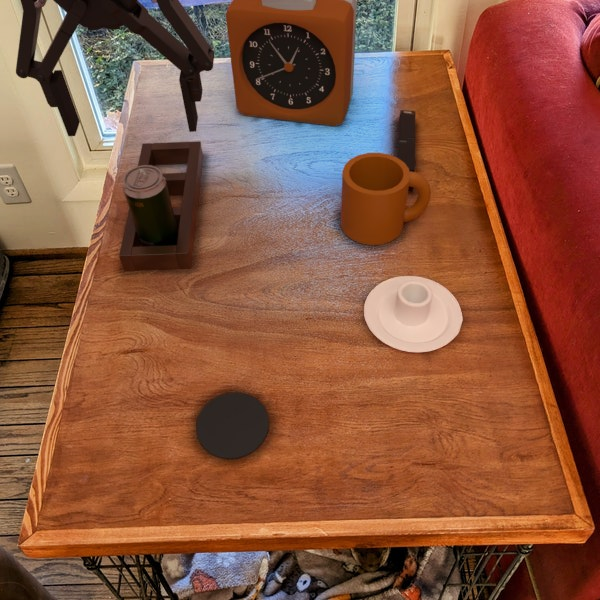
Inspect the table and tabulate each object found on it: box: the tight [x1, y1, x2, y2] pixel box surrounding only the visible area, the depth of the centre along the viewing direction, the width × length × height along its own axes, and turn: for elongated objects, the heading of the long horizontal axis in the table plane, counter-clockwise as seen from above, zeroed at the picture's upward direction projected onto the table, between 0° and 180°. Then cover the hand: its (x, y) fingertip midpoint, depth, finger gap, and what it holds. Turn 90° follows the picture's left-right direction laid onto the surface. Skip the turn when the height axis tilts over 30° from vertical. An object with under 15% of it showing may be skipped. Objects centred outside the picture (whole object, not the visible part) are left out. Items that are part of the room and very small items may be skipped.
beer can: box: [122, 165, 179, 247], centre depth 82 cm, size 5×5×12 cm
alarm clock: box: [225, 0, 358, 127], centre depth 99 cm, size 18×9×21 cm, turn 77°
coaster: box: [195, 392, 270, 460], centre depth 69 cm, size 8×8×1 cm
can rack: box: [118, 140, 204, 272], centre depth 90 cm, size 9×24×3 cm, turn 2°
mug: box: [340, 152, 432, 246], centre depth 85 cm, size 9×12×9 cm
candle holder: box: [363, 275, 464, 353], centre depth 76 cm, size 12×12×4 cm
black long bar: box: [396, 109, 416, 193], centre depth 97 cm, size 18×3×3 cm, turn 173°
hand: (134, 127), depth 71 cm, fingers open, 13 cm apart
